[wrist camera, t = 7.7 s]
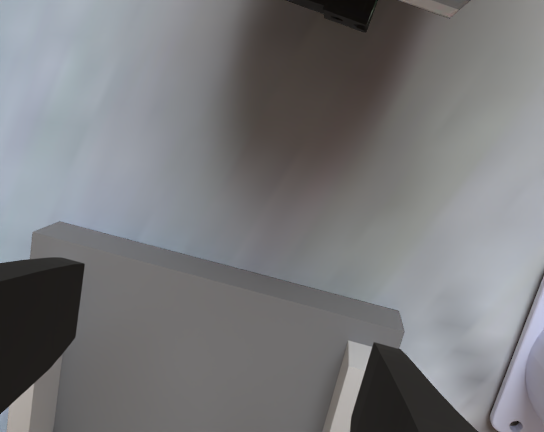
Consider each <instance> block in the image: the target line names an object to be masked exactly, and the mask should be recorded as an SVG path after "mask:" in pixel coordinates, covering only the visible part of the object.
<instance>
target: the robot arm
mask: <svg viewBox="0 0 544 432" xmlns="http://www.w3.org/2000/svg"><path fill="white" fill-rule="evenodd" d="M84 267H85V264H84V263H81V262H77V261H73V260H70V259H66V258H62V257H49V258H37V259H28V260H21V261H13V262H6V263H0V414H1V413H2V412H3V411H4V410H5V409H6V408H7V407H9V406H10V405H11V404H12V403H13V402H14V401H15V400H16V399H17V398H19V397H20V396H21V395H22V394H23V393H24V392H25V391H26V390H27V389H29V388H30V387H31V386H32V385H33V384H34V383H35V382H36V381H37V380H38V379H39V378H40V377H42V376H43V375H44V374H45V373H46V372H47V371H48V370H49V369H50V368H51V367H52V366H53V364H54V363H55V362H56V361H57V360H58V359H59V358H60V356H61V355H62V354H63V353H64V351H65V350H66V349H67V348H68V346H69V345H70V344H71V343H72V341H73V340H74V339H75V337H76V329H77V322H78V314H79V306H80V298H81V291H82V283H83V275H84ZM490 421H491V424H492V426H493V427H494V428H495V430H497V431H499V432H544V277H543V279H542V282H541V284H540V287H539V290H538V292H537V295H536V297H535V300H534V303H533V305H532V308H531V310H530V313H529V315H528V318H527V321H526V323H525V326H524V328H523V331H522V334H521V336H520V339H519V341H518V344H517V347H516V349H515V352H514V354H513V357H512V360H511V362H510V365H509V367H508V370H507V373H506V375H505V378H504V380H503V383H502V386H501V388H500V391H499V393H498V396H497V399H496V401H495V404H494V406H493V409H492V412H491V414H490ZM513 421H519V423H518V424H517V425H515V426H511V425H510V424H511V422H513ZM350 432H478V431H477V430H476V429H475V428H474V427H473V426H472V425H471V424H470V423H468V422H467V421H466V420H465V419H464V418H463V417H462V416H461V415H460V414H459V413H458V412H457V411H456V410H455V409H454V408H453V407H452V405H451V404H450V403H449V402H448V401H447V400H446V399H445V398H444V397H443V396H442V395H441V394H440V393H439V392H438V390H437V389H436V388H435V387H434V386H433V385H432V384H431V383H430V381H429V380H428V379H427V378H426V377H425V376H424V375H423V373H422V372H421V371H420V370H419V369H418V368H417V367H416V365H415V364H414V363H413V362H412V361H411V360H410V359H409V358H408V356H407V355H406V354H405V353H404V352H403V351H401V350H400V349H398V348H394V347H390V346H387V345H383V344H379V343H376V342H374V343H373V346H372V349H371V353H370V356H369V359H368V363H367V366H366V369H365V373H364V376H363V379H362V383H361V386H360V389H359V392H358V396H357V399H356V402H355V406H354V409H353V412H352V416H351V425H350Z"/></svg>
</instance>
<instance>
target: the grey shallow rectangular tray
mask: <svg viewBox="0 0 544 432" xmlns="http://www.w3.org/2000/svg"><path fill="white" fill-rule="evenodd" d="M49 257H62V258H66V259H70V260H73V261H77V262H81V263H84V264H85V267H84V275H83V283H82V291H81V298H80V306H79V314H78V322H77V329H76V337H75V339H74V340H73V341H72V343H71V344H70V345H69V346H68V348H67V349H66V350H65V351H64V353H63V354H62V355H61V356H60V358H59V359H58V360H57V361H56V362H55V363H54V364H53V366H52V367H51V368H50V369H49V370H48V371H47V372H46V373H45V374H44V375H43V376H42V377H40V378H39V379H38V380H37V381H36V382H35V383H34V384H33V385H32V386H31V387H30V388H29V389H27V390H26V391H25V392H24V393H23V394H22V395H21V396H20V397H19V398H17V399H16V400H15V401H14V402H13V403H12V404H11V405H10V406H9V412H8V423H7V432H350V425H351V416H352V412H353V409H354V406H355V402H356V399H357V396H358V392H359V389H360V386H361V383H362V379H363V376H364V373H365V369H366V366H367V363H368V359H369V356H370V353H371V349H372V346H373V343H374V342H376V343H379V344H383V345H387V346H390V347H394V348H398V349H399V347H400V344H401V341H402V338H403V335H404V328H403V324H402V321H401V317H400V313H399V311H397V310H393V309H389V308H386V307H382V306H378V305H374V304H370V303H367V302H363V301H359V300H355V299H351V298H348V297H344V296H340V295H336V294H332V293H329V292H325V291H321V290H317V289H314V288H310V287H306V286H302V285H298V284H295V283H291V282H287V281H283V280H279V279H276V278H272V277H268V276H264V275H260V274H257V273H253V272H249V271H245V270H242V269H238V268H234V267H230V266H226V265H223V264H219V263H215V262H211V261H207V260H204V259H200V258H196V257H192V256H189V255H185V254H181V253H177V252H173V251H170V250H166V249H162V248H158V247H154V246H151V245H147V244H143V243H139V242H135V241H132V240H128V239H124V238H120V237H117V236H113V235H109V234H105V233H101V232H98V231H94V230H90V229H86V228H82V227H79V226H75V225H71V224H67V223H63V222H57V223H55V224H52V225H49V226H47V227H44V228H42V229H39V230H37V231H34V232H33V234H32V244H31V254H30V259H37V258H49Z"/></svg>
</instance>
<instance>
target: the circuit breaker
mask: <svg viewBox="0 0 544 432" xmlns="http://www.w3.org/2000/svg"><path fill="white" fill-rule="evenodd" d="M287 1H289V2H292V3H295V4H298V5H301V6H303V7H306V8H309V9H312V10H314V11H317V12H320V13H323V14H324V18H326V19H329V20H332V21H334V22H337V23H340V24H343V25H345V26H348V27H351V28H354V29H356V30H359V31H362V32H367V29H368V26H369V23H370V21H371V18H372V15H373V12H374V10H375V7H376V4H377V1H378V0H287ZM398 1H401V2H404V3H407V4H410V5H412V6H415V7H418V8H421V9H424V10H427V11H429V12H432V13H435V14H438V15H441V16H443V17H446V18H449V19H450V18H451V17H452V16H453V15H454V14H455V13H456V12H458V11H459V10H460V9H461V8H462V7H463V6H464V5H466V4H467V3H468V2H469V1H470V0H398Z"/></svg>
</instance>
